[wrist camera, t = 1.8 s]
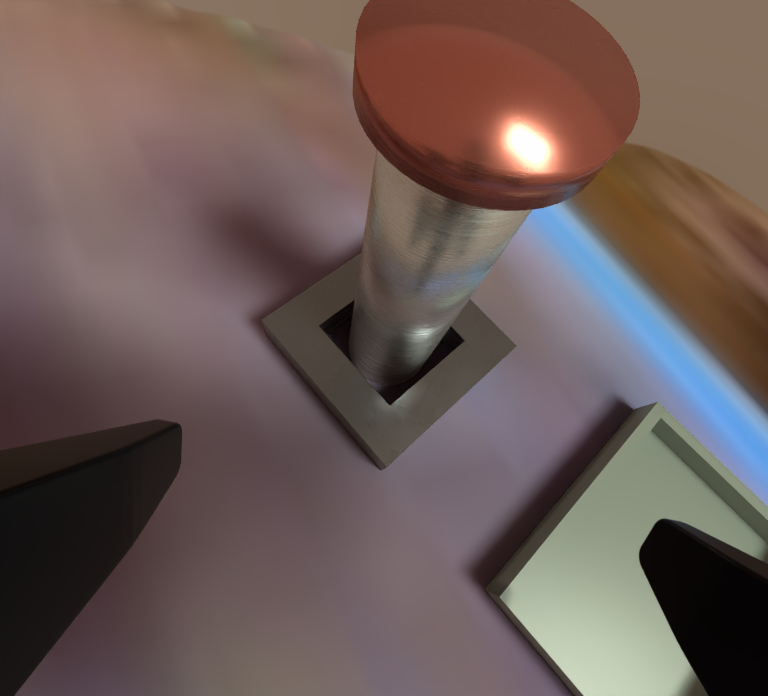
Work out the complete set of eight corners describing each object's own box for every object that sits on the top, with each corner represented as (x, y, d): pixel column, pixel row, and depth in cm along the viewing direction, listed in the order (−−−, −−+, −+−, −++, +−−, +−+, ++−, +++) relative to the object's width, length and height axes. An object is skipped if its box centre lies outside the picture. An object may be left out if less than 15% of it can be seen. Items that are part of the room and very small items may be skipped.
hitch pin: (383, 420, 21) (516, 227, 7) (313, 339, 22) (292, 19, 8) (458, 354, 23) (690, 91, 9) (391, 283, 24) (493, -60, 10)
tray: (655, 790, 17) (690, 821, 16) (484, 589, 19) (499, 597, 17) (783, 554, 22) (821, 558, 20) (634, 409, 24) (657, 401, 22)
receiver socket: (381, 470, 20) (386, 466, 19) (266, 335, 22) (261, 319, 20) (501, 358, 24) (516, 345, 22) (393, 247, 25) (398, 227, 23)
